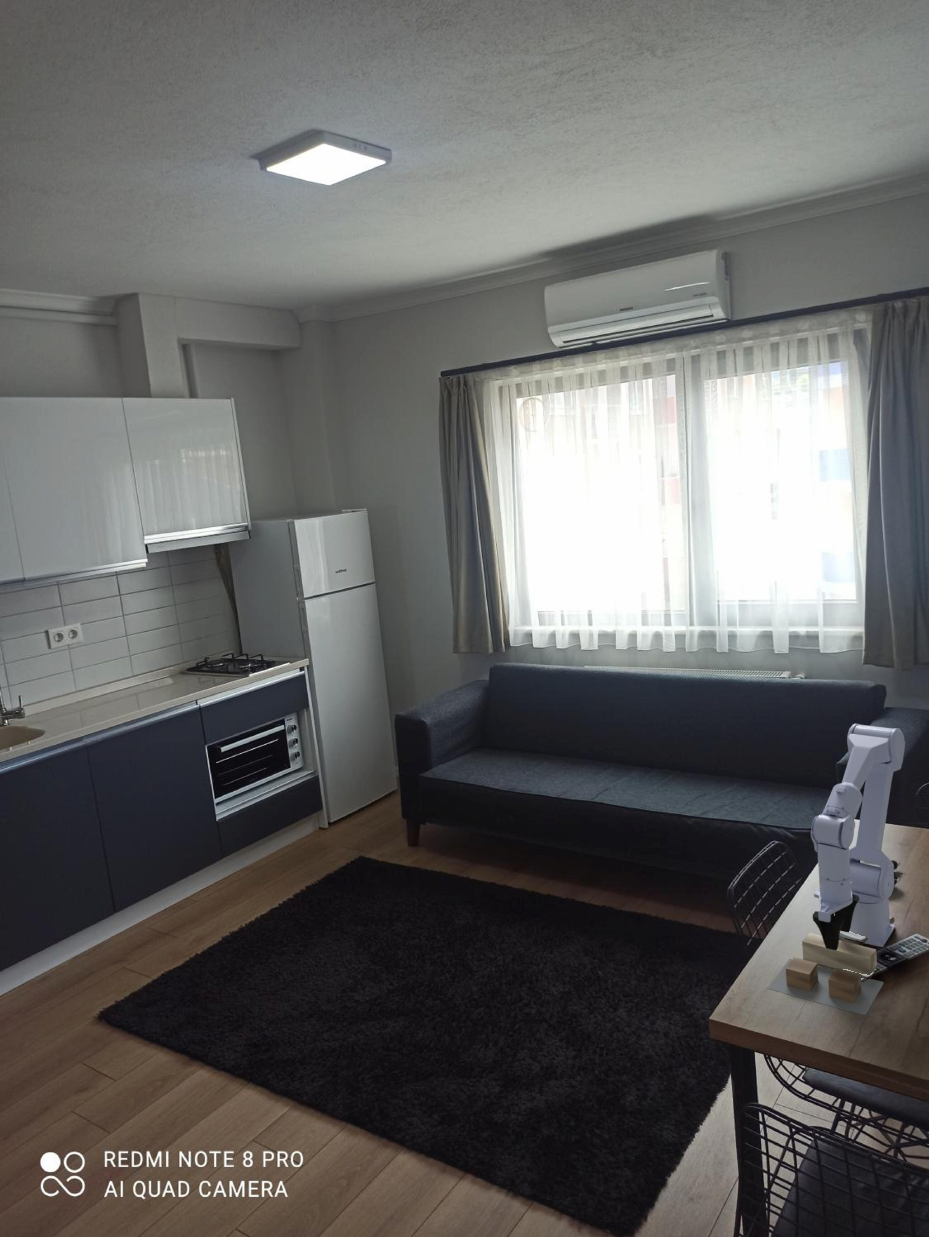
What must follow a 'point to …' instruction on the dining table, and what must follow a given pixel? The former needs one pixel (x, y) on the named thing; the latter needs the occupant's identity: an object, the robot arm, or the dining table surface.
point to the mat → (822, 991)
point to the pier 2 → (844, 985)
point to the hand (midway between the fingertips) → (837, 939)
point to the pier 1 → (802, 974)
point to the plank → (839, 955)
